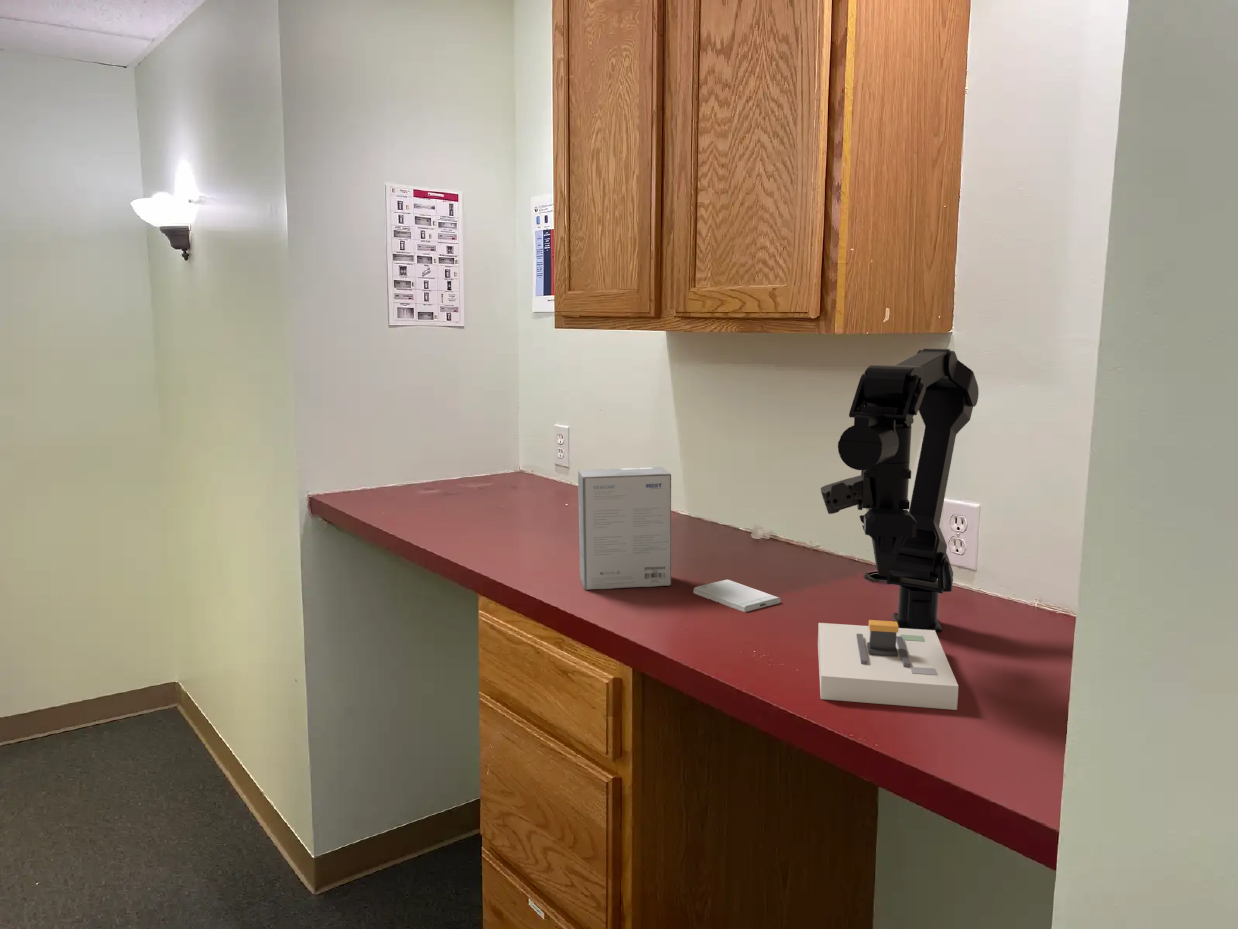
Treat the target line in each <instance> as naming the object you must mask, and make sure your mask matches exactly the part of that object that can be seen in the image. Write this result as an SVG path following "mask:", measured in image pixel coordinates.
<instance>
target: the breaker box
mask: <svg viewBox="0 0 1238 929" xmlns="http://www.w3.org/2000/svg"><path fill="white" fill-rule="evenodd" d="M817 628H818V632H817V650H818V651H817V654H818V657H817V658H818V671H819V672H818V674H819V675H818V676H819V692H820V693H819V695H820V700H826V701H827V700H828V701H842V702H854V703H855V702H856V703H865V704H866V703H868V704H876V705H877V704H878V705H890V706H891V705H893V706H903V707H904V706H905V707H914V708H916V707H917V708H925V709H926V708H929V709H940V710H941V709H942V710H952V711H953V710H954V711H957V710H958V701H959V700H958V698H959V684H958V682H957V680H956V677H955V674H954V673H953V670H952V668H951V666H950V662H949V661H948V658H947V656H946V654H945V651H944V648H943V645H942V644H941V641H940V639H939V637H938V634H937V632H935V630H921V629H906V628H899V629H898V633H897V632H896V648H897V652H898V656H886V655H872V654H869V652H868V647H867V642H869V640H870V630H869V625H858V624H857V625H856V624H843V623H841V624H840V623H828V622H818V627H817Z"/></svg>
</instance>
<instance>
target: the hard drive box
mask: <svg viewBox="0 0 1238 929" xmlns="http://www.w3.org/2000/svg"><path fill="white" fill-rule="evenodd" d="M577 484H578V485H577V486H578V488H577V489H578V497H577V498H578V533H579V534H578V535H579V536H578V538H579V542H578V544H579V578H580V583H581V585H582V587H583V589H584V590H586V591H587V590H611V589H623V588H651V587H665V586H666V587H668V586H671V585H672V474H671V473H670V472H669V471H667V470H666V469H665V468H664V467H662V466H657V467H654V466H653V467H652V466H650V467H649V466H648V467H626V468H625V467H622V468H607V469H585V470H583V469H582V470H581V469H580V470H577Z"/></svg>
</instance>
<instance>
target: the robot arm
mask: <svg viewBox="0 0 1238 929" xmlns="http://www.w3.org/2000/svg"><path fill="white" fill-rule="evenodd" d="M979 394H980V393H979V385H978V381H977V378H976V376H975V373H974V371H973V370H972V369H971V368H969V367H968V366H967V365H965V364H964V363H963V362H961V361H960V360H959V359H958V357H957V354H956V352H955V351H954V350H951V349H950V348H923V349H918V351H917V353H916V354H914V355H912V356H910V357H909V358H907V359H904V360H903V361H901V362H899V363H897V364H895V365H894V364H891V365H890V364H887V365H886V364H873V365H872V364H871V365H869V366H868V367H867V368H865V370H864V373H863V374H861V376H860V378H859V381H858V384H857V387H856V391H855V393H854V398H853V400H852V404H851V406H850V410H849V413H848V417H849V418H853V420H854V421H853V425H851V426H850V427H847V428H846V429H845V430H844V431H843V432H842V433H841V435H840V438H839V440H838V441H837V449H838V450H837V451H838V455H839V457H840V459H841V460H842V462H843V463H844V464H845V465H846V466H847V467H848V468H850V469H853V470H855V471H861V472H860V475H856V476H853V477H849V478H845V479H842V480H838V481H835V482H833V483H832V482H831V483H829V484H825V485H823V486H822V487H821V488H820V493H821V496H822V499H823V501H824V505H825V507H826V508H825V509H826V511H827V514H829V515H833V514H837V513H839V512H840V511H842V510H845V509H848V508H851V507H855V506H856V507H857V510H858V511H863V509H866V511H865V514H863V515H859V520H860V521H861V523H862V530H863V532H864V534H865V536H869V537H870V538H871V541H872V547H873V548H872V549H873V555H874V560H875V567H876V570H877V574H878V576H879V577H886V584H887V585H896V586H899V588H898V602H897V603H898V604H897V607H898V608H897V612H894V613H893V615H892V616H893V617H892V618H893V620H894V622H897V623H898V626H899V628H906V629H921V630H935V632H936V633H940V632H942V631H943V628H942V625H941V623H940V620H939V619H938V606H939V594H944V593H946V592H949V593H950V592H952V591H953V584H954V583H953V582H954V571H953V568H952V565H951V561H950V558H949V555H948V553H947V549H948V543H947V541H946V540H945V536H944V535H943V532H942V529H941V527H940V526H941V525H940V523H941V517H942V513H943V509H944V508H943V507H944V502H945V496H946V492H947V491H946V490H947V487H948V486H947V485H948V480H949V475H950V469H951V465H952V460H953V453H954V447H955V444H956V443H955V442H956V437H957V434H959V432H960V431H961V430H962V429H963V428H964V427H965V426H966V425H967V424H968V423H969V422H970V421H971V416H972V413H973V409H974V407H976V406H977V403H978V400H979ZM918 412H919V415H920V418H921V419H922V422H923V425H924V432H923V437H922V443H921V447H920V452H919V458H918V463H917V468H916V474H915V479H914V484H913V488H912V489H913V490H912V494H911V500H909V498H908V497H909V481H910V480H911V479H912V471H911V469H910V466H911V465H910V463H911V447H912V446H911V444H912V442H911V441H912V424H914V420H915V419H914V416H917V415H918Z"/></svg>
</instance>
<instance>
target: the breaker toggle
mask: <svg viewBox="0 0 1238 929" xmlns="http://www.w3.org/2000/svg"><path fill="white" fill-rule="evenodd" d="M868 626H869V630H870V640H869V642H867V647H868V652H869V654H872V655H886V656H898V652H897V648H896V632H897V633H898V629H899V626H898V623H897V622H895V621H892V620H878V619H877V620H876V619H869V620H868Z"/></svg>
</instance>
